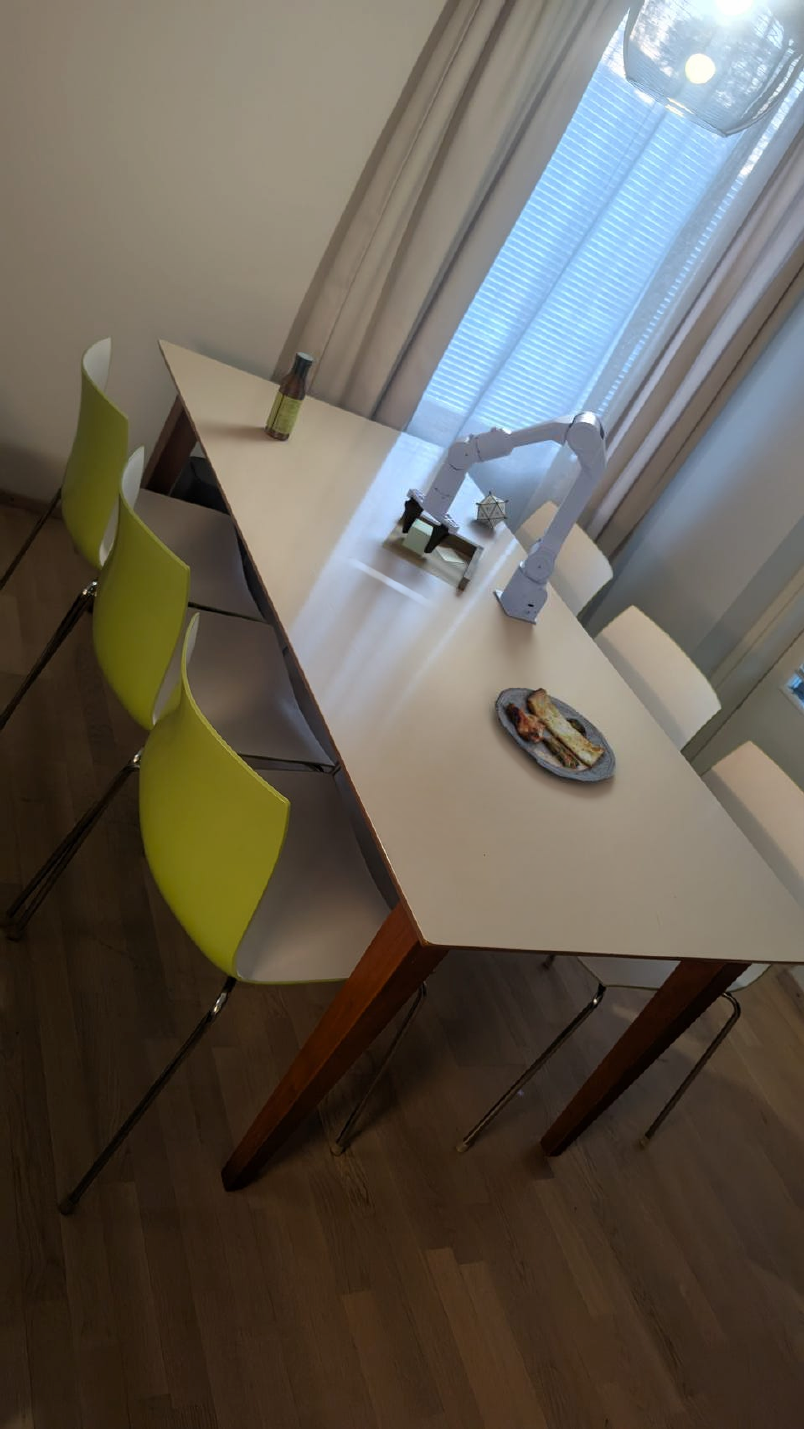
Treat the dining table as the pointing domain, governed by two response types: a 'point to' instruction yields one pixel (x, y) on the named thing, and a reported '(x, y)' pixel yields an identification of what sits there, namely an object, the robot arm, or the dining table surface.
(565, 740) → the food plate
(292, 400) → the sauce bottle
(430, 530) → the sage cube
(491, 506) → the game die
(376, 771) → the dining table surface
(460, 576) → the arena
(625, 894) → the dining table surface
